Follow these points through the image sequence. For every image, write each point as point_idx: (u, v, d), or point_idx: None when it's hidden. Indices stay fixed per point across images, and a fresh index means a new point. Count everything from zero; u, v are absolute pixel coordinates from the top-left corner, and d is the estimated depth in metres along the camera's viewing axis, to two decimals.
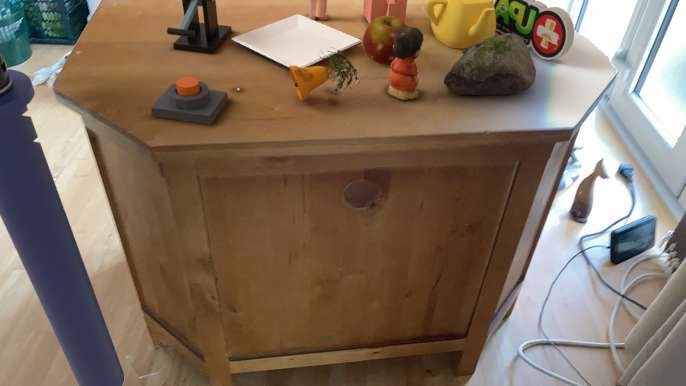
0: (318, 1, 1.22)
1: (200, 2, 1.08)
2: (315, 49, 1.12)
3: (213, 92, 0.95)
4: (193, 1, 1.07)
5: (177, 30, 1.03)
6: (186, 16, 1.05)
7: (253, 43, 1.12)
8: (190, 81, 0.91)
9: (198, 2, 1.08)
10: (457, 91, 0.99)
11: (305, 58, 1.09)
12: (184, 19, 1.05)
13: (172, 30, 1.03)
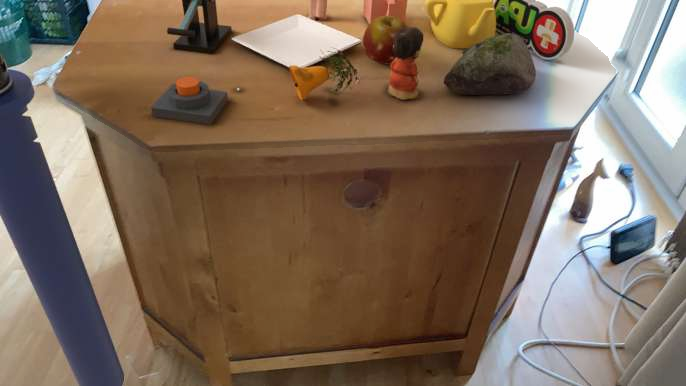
0: (318, 1, 1.22)
1: (200, 2, 1.08)
2: (315, 49, 1.12)
3: (213, 92, 0.95)
4: (193, 1, 1.07)
5: (177, 30, 1.03)
6: (186, 16, 1.05)
7: (253, 43, 1.12)
8: (190, 81, 0.91)
9: (198, 2, 1.08)
10: (457, 91, 0.99)
11: (305, 58, 1.09)
12: (184, 19, 1.05)
13: (172, 30, 1.03)
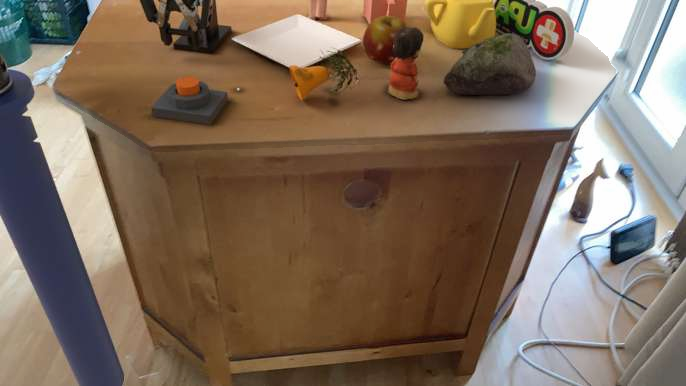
0: (318, 1, 1.22)
1: None
2: (315, 49, 1.12)
3: (213, 92, 0.95)
4: None
5: (177, 30, 1.03)
6: None
7: (253, 43, 1.12)
8: (190, 81, 0.91)
9: (198, 2, 1.08)
10: (457, 91, 0.99)
11: (305, 58, 1.09)
12: (184, 19, 1.05)
13: (172, 30, 1.03)
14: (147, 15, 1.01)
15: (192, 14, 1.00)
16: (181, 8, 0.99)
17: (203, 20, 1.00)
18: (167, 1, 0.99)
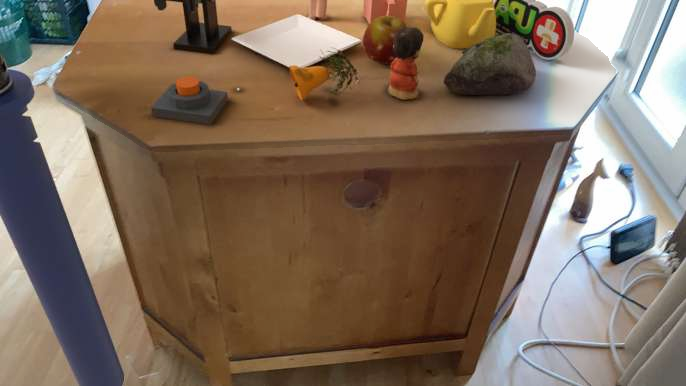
0: (318, 1, 1.22)
1: None
2: (315, 49, 1.12)
3: (213, 92, 0.95)
4: None
5: None
6: None
7: (253, 43, 1.12)
8: (190, 81, 0.91)
9: None
10: (457, 91, 0.99)
11: (305, 58, 1.09)
12: None
13: None
14: None
15: None
16: None
17: None
18: None
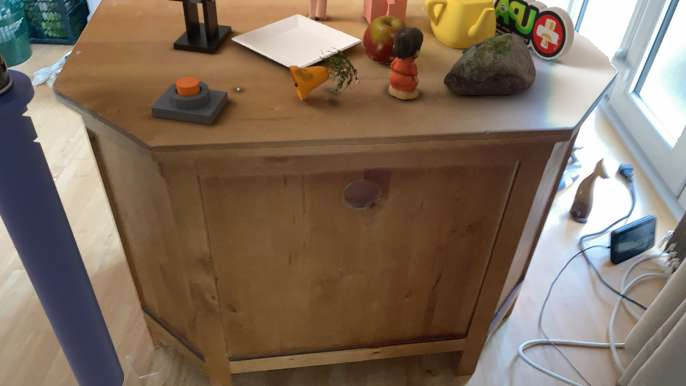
0: (318, 1, 1.22)
1: None
2: (315, 49, 1.12)
3: (213, 92, 0.95)
4: None
5: None
6: None
7: (253, 43, 1.12)
8: (190, 81, 0.91)
9: None
10: (457, 91, 0.99)
11: (305, 58, 1.09)
12: None
13: None
14: None
15: None
16: None
17: None
18: None
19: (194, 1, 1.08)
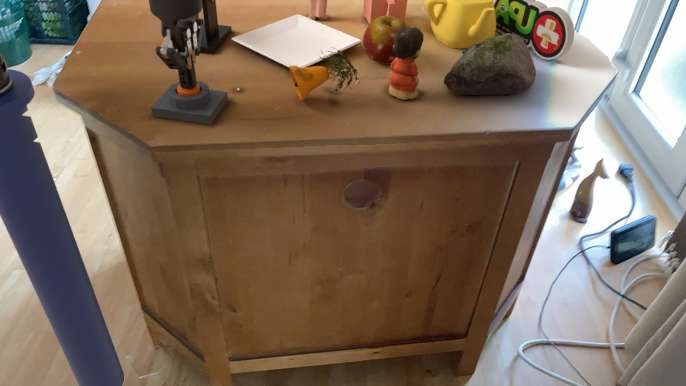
0: (318, 1, 1.22)
1: None
2: (315, 49, 1.12)
3: (213, 92, 0.95)
4: None
5: None
6: None
7: (253, 43, 1.12)
8: None
9: None
10: (457, 91, 0.99)
11: (305, 58, 1.09)
12: None
13: None
14: None
15: None
16: None
17: None
18: None
19: None
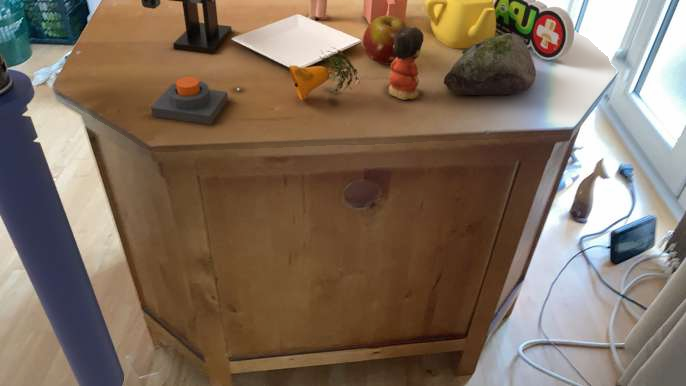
0: (318, 1, 1.22)
1: None
2: (315, 49, 1.12)
3: (213, 92, 0.95)
4: None
5: None
6: None
7: (253, 43, 1.12)
8: (190, 81, 0.91)
9: None
10: (457, 91, 0.99)
11: (305, 58, 1.09)
12: None
13: None
14: None
15: None
16: None
17: None
18: None
19: (194, 1, 1.08)
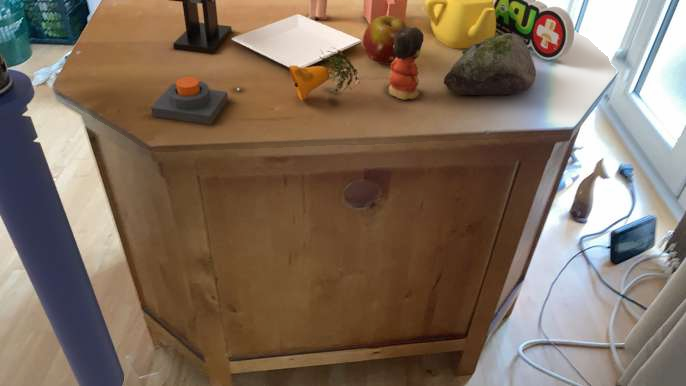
0: (318, 1, 1.22)
1: None
2: (315, 49, 1.12)
3: (213, 92, 0.95)
4: None
5: None
6: None
7: (253, 43, 1.12)
8: (190, 81, 0.91)
9: None
10: (457, 91, 0.99)
11: (305, 58, 1.09)
12: None
13: None
14: None
15: None
16: None
17: None
18: None
19: (194, 1, 1.08)
